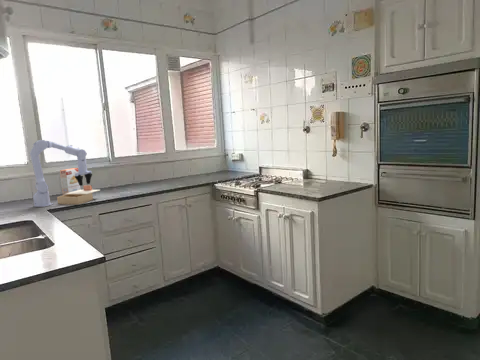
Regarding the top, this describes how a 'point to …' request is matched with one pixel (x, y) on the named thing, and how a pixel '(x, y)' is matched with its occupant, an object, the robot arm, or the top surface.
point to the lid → (86, 190)
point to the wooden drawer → (74, 198)
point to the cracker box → (69, 180)
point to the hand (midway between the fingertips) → (84, 184)
